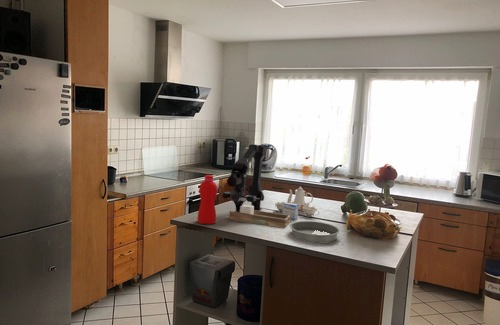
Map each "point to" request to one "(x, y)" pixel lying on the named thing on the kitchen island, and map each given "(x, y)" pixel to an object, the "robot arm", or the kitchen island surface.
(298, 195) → the chinaware
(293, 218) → the medicine box
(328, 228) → the cake pan
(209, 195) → the water bottle
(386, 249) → the kitchen island surface
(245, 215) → the light wood shallow tray
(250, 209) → the cream block
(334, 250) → the kitchen island surface
